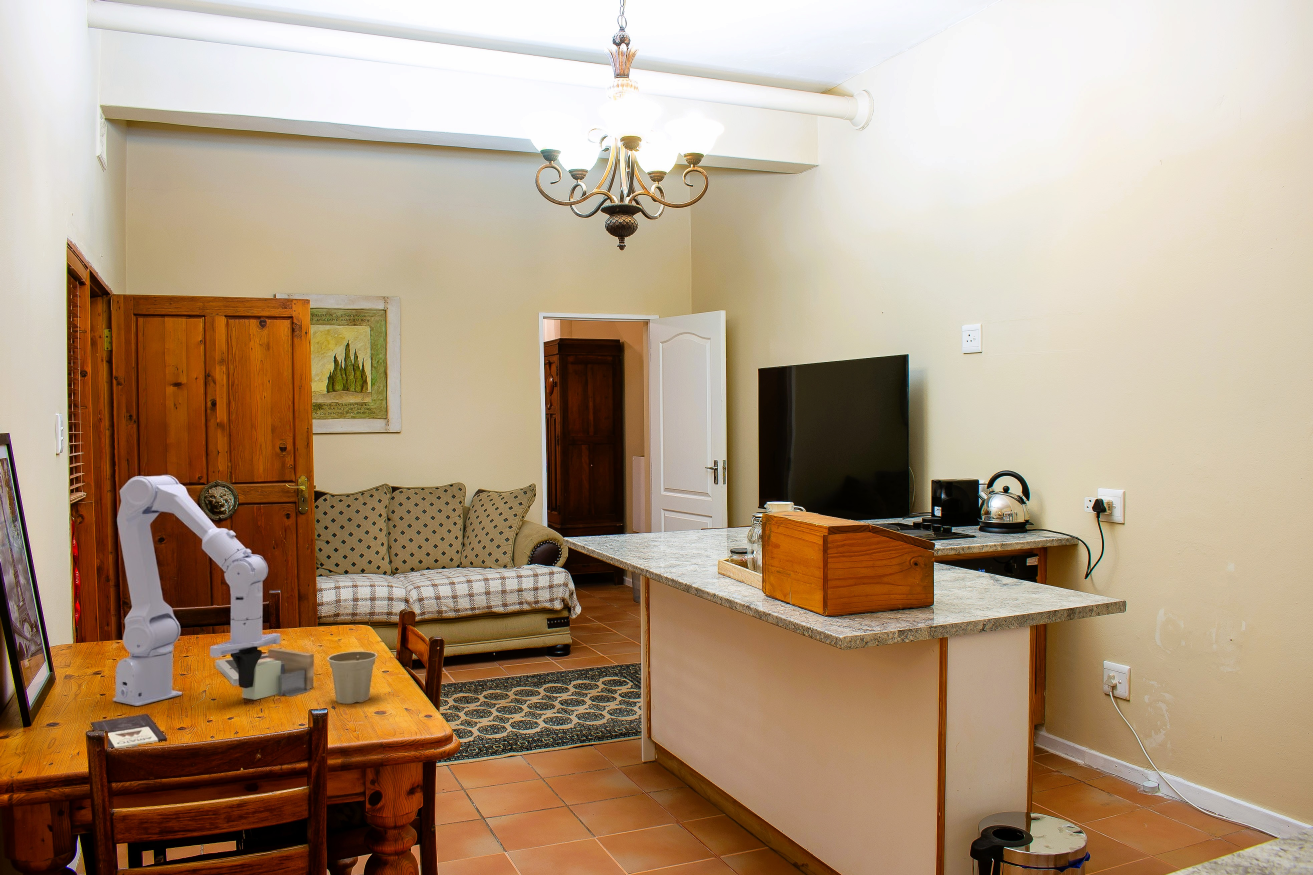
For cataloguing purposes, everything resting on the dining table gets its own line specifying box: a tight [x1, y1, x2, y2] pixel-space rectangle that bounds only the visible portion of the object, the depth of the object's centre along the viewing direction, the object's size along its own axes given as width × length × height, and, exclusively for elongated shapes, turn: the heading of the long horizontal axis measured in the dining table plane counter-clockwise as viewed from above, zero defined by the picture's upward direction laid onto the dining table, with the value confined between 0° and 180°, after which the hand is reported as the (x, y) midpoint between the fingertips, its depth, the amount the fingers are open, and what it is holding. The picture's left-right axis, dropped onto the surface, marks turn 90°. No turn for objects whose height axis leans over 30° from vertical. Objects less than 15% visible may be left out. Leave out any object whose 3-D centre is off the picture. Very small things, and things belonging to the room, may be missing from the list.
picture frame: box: [214, 653, 268, 687], centre depth 203 cm, size 16×3×21 cm
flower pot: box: [326, 650, 378, 705], centre depth 180 cm, size 9×9×9 cm
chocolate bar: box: [90, 713, 168, 749], centre depth 158 cm, size 9×1×18 cm
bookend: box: [277, 669, 312, 698], centre depth 185 cm, size 6×3×4 cm, turn 152°
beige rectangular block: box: [242, 659, 281, 700], centre depth 182 cm, size 6×4×6 cm, turn 153°
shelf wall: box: [267, 647, 315, 689], centre depth 191 cm, size 2×12×7 cm, turn 62°
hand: (246, 686), depth 179 cm, fingers closed, pressing on beige rectangular block
